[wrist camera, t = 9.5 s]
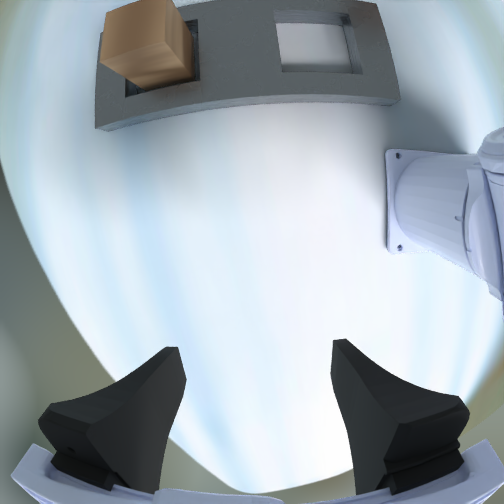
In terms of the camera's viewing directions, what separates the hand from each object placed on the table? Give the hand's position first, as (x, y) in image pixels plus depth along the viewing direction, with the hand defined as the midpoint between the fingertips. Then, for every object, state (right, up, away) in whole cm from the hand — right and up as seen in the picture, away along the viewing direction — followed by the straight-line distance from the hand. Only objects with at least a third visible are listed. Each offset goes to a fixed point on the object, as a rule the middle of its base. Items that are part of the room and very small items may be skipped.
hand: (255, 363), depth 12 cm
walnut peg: (-6, +19, +5) cm, 21 cm away
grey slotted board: (-1, +20, +5) cm, 20 cm away
